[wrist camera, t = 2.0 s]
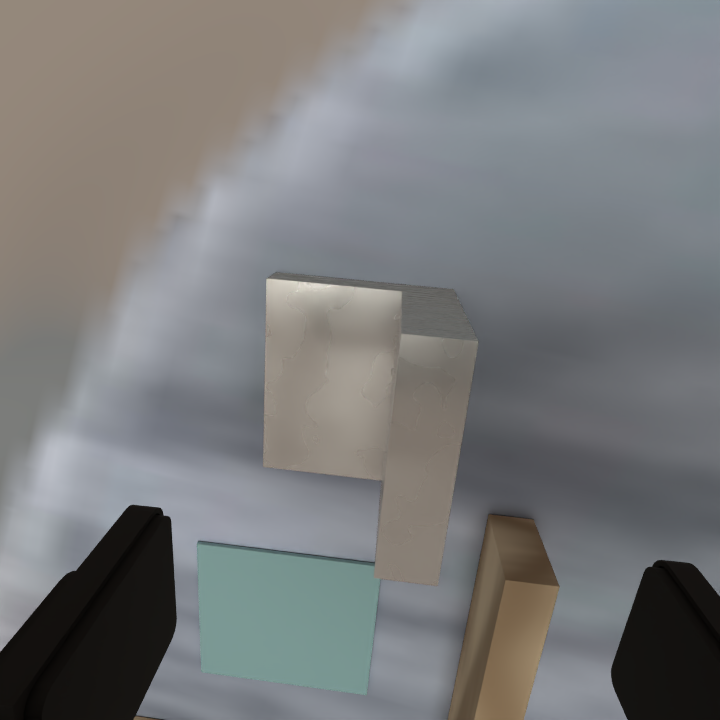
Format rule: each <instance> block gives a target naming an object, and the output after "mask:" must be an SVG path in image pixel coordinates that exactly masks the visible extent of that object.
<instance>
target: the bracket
mask: <svg viewBox="0 0 720 720" xmlns="http://www.w3.org/2000/svg"><path fill="white" fill-rule="evenodd" d="M478 342H479V341H478V339H477V337H476V335H475V333H474V331H473V329H472V327H471V325H470V323H469V320H468V318H467V316H466V314H465V312H464V310H463V308H462V306H461V304H460V302H459V299H458V297H457V295H456V293H455V291H454V289H447V288H437V287H426V286H416V285H406V284H395V283H385V282H374V281H364V280H353V279H343V278H333V277H322V276H312V275H301V274H291V273H280V272H275V273H274V274H272V275H271V276H270V277H268V278H267V285H266V340H265V396H264V451H263V467H269V468H277V469H286V470H295V471H303V472H312V473H320V474H329V475H338V476H346V477H355V478H363V479H372V480H381V490H380V502H379V515H378V528H377V541H376V554H375V567H374V578H378V579H386V580H393V581H401V582H409V583H417V584H425V585H433V586H438V580H439V574H440V569H441V563H442V557H443V551H444V545H445V539H446V533H447V527H448V521H449V515H450V509H451V503H452V497H453V491H454V485H455V479H456V473H457V467H458V461H459V455H460V449H461V443H462V438H463V432H464V426H465V420H466V414H467V408H468V402H469V396H470V390H471V384H472V378H473V372H474V366H475V360H476V354H477V348H478Z"/></svg>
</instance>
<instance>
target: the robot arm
mask: <svg viewBox="0 0 720 720" xmlns="http://www.w3.org/2000/svg"><path fill="white" fill-rule="evenodd" d="M176 620H177V616H176V599H175V581H174V563H173V545H172V528H171V519H170V517H169V516H163V511H162V509H161V508H158V507H149V506H139V505H131V506H129V507H128V508H127V509H126V510H125V511H124V512H123V514H122V515H121V516H120V517H119V519H118V520H117V521H116V522H115V523H114V525H113V526H112V527H111V528H110V530H109V531H108V532H107V533H106V535H105V536H104V537H103V538H102V539H101V541H100V542H99V543H98V544H97V546H96V547H95V548H94V549H93V551H92V552H91V553H90V554H89V556H88V557H87V558H86V559H85V560H84V562H83V563H82V564H81V565H80V567H79V568H78V569H77V570H76V571H72V572H70V573H68V574H66V575H65V576H64V577H63V578H62V579H61V580H60V581H59V582H58V583H57V585H56V586H55V587H54V588H53V589H52V591H51V592H50V593H49V594H48V595H47V597H46V598H45V599H44V600H43V601H42V603H41V604H40V605H39V606H38V607H37V609H36V610H35V611H34V612H33V613H32V615H31V616H30V617H29V618H28V620H27V621H26V622H25V623H24V624H23V626H22V627H21V628H20V629H19V630H18V632H17V633H16V634H15V635H14V636H13V638H12V639H11V640H10V641H9V642H8V644H7V645H6V646H5V647H4V648H3V650H2V651H1V652H0V720H134V717H135V715H136V713H137V711H138V709H139V707H140V705H141V703H142V701H143V699H144V697H145V694H146V692H147V690H148V688H149V686H150V684H151V682H152V680H153V678H154V676H155V674H156V672H157V669H158V667H159V665H160V663H161V661H162V659H163V657H164V655H165V653H166V651H167V649H168V646H169V644H170V642H171V640H172V638H173V635H174V632H175V627H176ZM611 678H612V684H613V687H614V690H615V692H616V694H617V697H618V699H619V701H620V704H621V706H622V708H623V710H624V713H625V715H626V717H627V719H628V720H720V596H719V595H718V594H717V593H716V591H715V590H714V589H713V588H712V586H711V585H710V584H709V583H708V581H707V580H706V579H705V577H704V576H703V575H702V574H701V572H700V571H699V570H698V569H697V568H696V567H695V566H694V565H693V564H690V563H684V562H675V561H665V560H658V561H656V562H655V563H654V564H653V566H652V567H648V568H646V569H645V571H644V574H643V576H642V579H641V582H640V585H639V588H638V591H637V594H636V597H635V600H634V603H633V606H632V609H631V612H630V615H629V618H628V620H627V623H626V626H625V629H624V632H623V635H622V638H621V641H620V644H619V647H618V650H617V653H616V656H615V659H614V661H613V664H612V669H611Z"/></svg>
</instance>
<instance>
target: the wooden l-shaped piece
mask: <svg viewBox="0 0 720 720" xmlns="http://www.w3.org/2000/svg"><path fill="white" fill-rule="evenodd" d="M558 591H559V584H558V581H557V579H556V576H555V574H554V571H553V569H552V566H551V563H550V561H549V558H548V556H547V553H546V550H545V548H544V545H543V543H542V540H541V538H540V535H539V532H538V530H537V527H536V525H535V522H534V520H533V519H524V518H516V517H507V516H499V515H491V514H489V515H488V520H487V525H486V530H485V535H484V540H483V545H482V550H481V555H480V560H479V565H478V570H477V575H476V581H475V586H474V591H473V596H472V601H471V606H470V611H469V616H468V621H467V626H466V631H465V636H464V641H463V646H462V651H461V656H460V661H459V666H458V671H457V676H456V681H455V686H454V691H453V696H452V701H451V706H450V711H449V716H448V720H524V716H525V712H526V709H527V705H528V701H529V698H530V694H531V690H532V687H533V683H534V679H535V675H536V672H537V668H538V664H539V661H540V657H541V653H542V650H543V646H544V642H545V639H546V635H547V631H548V628H549V624H550V620H551V617H552V613H553V609H554V605H555V602H556V598H557V594H558ZM134 720H159V719H152V718H145V717H138V716H135V717H134Z"/></svg>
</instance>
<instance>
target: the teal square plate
mask: <svg viewBox="0 0 720 720" xmlns="http://www.w3.org/2000/svg"><path fill="white" fill-rule="evenodd" d="M197 561H198V590H199V619H200V647H201V672H204V673H211V674H218V675H226V676H233V677H240V678H247V679H254V680H262V681H269V682H276V683H283V684H290V685H298V686H305V687H312V688H319V689H327V690H334V691H341V692H348V693H355V694H363V695H367V688H368V679H369V671H370V662H371V654H372V646H373V637H374V629H375V620H376V612H377V603H378V595H379V587H380V579H378V578H374V567H375V563H369V562H361V561H353V560H345V559H337V558H329V557H321V556H313V555H305V554H297V553H289V552H281V551H273V550H265V549H257V548H249V547H241V546H233V545H225V544H217V543H209V542H201V541H198V543H197Z"/></svg>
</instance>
